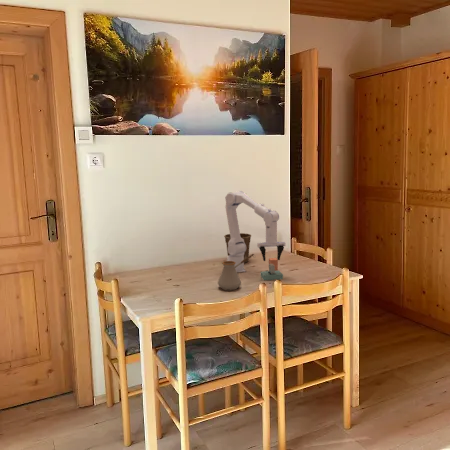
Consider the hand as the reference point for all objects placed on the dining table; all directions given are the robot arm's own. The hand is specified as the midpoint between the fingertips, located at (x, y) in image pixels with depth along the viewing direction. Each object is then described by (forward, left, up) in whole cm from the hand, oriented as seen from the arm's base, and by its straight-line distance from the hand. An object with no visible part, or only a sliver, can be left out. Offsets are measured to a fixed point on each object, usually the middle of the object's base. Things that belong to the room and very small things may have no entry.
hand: (271, 260), depth 242 cm
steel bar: (0, 0, -9) cm, 9 cm away
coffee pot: (-20, -11, -10) cm, 25 cm away
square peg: (+4, +12, -9) cm, 16 cm away
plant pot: (-11, +38, -10) cm, 41 cm away
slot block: (0, 0, -9) cm, 9 cm away
